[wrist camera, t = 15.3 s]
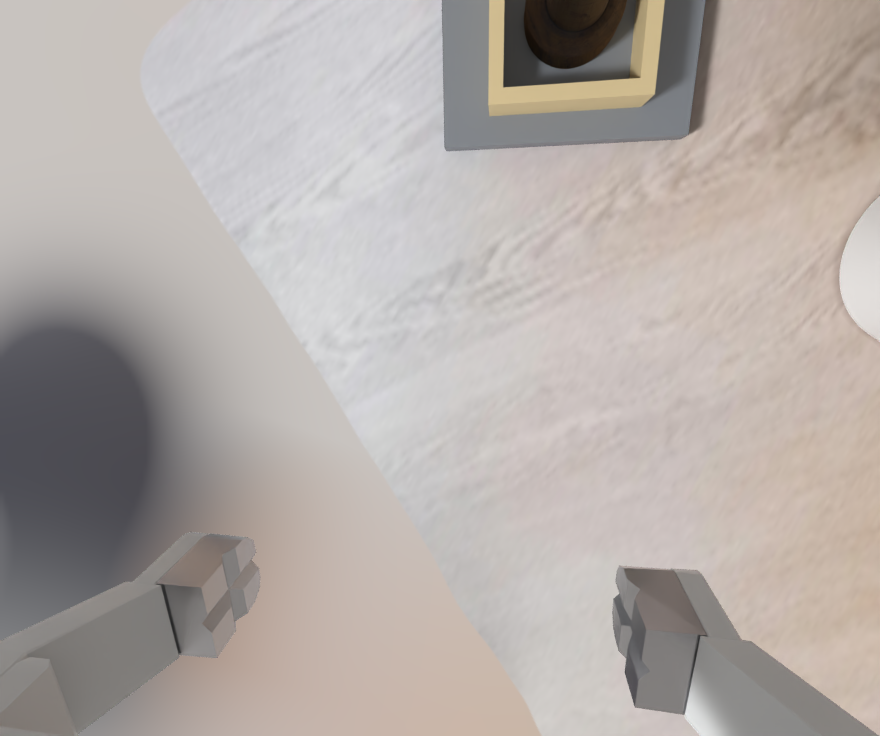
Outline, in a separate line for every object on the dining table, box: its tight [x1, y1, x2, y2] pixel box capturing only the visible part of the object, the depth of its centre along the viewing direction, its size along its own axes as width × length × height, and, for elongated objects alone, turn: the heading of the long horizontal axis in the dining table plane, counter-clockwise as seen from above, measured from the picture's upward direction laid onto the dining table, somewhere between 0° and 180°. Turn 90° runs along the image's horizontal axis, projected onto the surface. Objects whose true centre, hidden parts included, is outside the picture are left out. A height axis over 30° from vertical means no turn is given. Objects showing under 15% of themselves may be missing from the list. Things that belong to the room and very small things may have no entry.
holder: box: [442, 0, 706, 151], centre depth 30 cm, size 18×16×4 cm
